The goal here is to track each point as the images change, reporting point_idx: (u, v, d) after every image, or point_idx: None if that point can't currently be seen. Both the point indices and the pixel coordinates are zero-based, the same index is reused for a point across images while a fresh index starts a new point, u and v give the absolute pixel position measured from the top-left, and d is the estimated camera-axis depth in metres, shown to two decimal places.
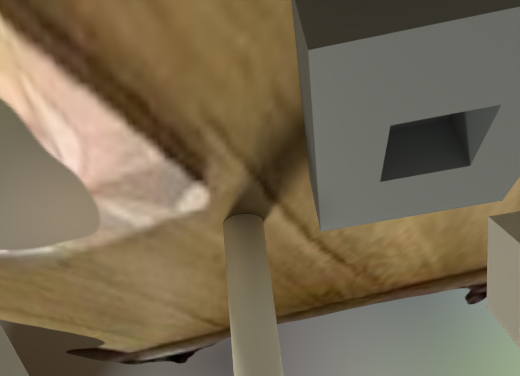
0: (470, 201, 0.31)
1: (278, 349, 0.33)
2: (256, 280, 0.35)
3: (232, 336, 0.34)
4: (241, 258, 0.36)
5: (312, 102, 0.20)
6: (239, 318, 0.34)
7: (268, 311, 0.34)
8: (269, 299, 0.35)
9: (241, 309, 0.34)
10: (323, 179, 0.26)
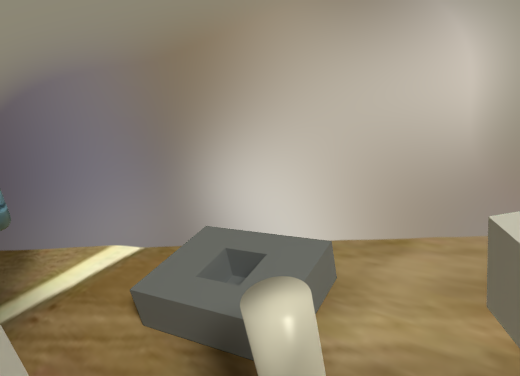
0: (316, 253, 0.44)
1: None
2: None
3: (259, 372, 0.23)
4: None
5: (150, 295, 0.42)
6: None
7: None
8: None
9: None
10: (205, 306, 0.39)
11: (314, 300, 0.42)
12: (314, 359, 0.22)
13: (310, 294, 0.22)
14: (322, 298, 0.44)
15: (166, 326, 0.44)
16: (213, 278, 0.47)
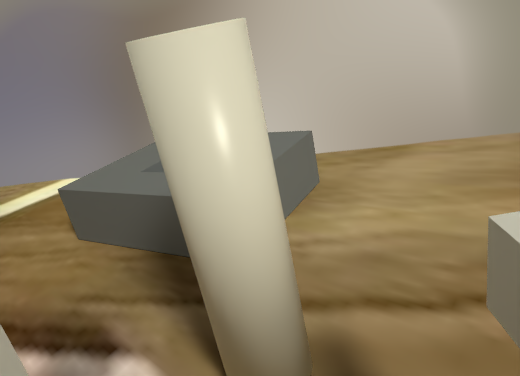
0: (291, 140, 0.35)
1: None
2: None
3: (164, 167, 0.14)
4: None
5: (80, 190, 0.33)
6: None
7: None
8: None
9: None
10: (144, 192, 0.30)
11: (288, 194, 0.33)
12: (251, 131, 0.13)
13: None
14: (300, 197, 0.35)
15: (103, 233, 0.34)
16: None
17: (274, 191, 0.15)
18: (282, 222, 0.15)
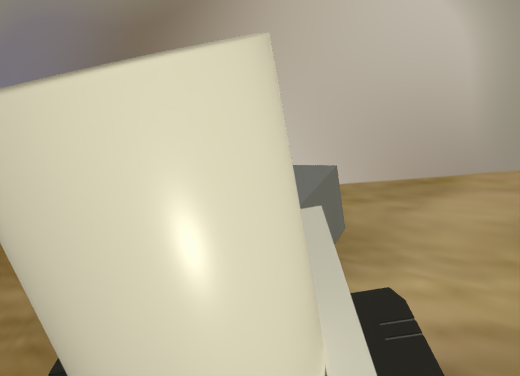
0: (311, 180, 0.27)
1: None
2: None
3: None
4: None
5: None
6: None
7: None
8: None
9: None
10: None
11: None
12: (284, 325, 0.05)
13: (264, 34, 0.05)
14: None
15: None
16: None
17: None
18: None
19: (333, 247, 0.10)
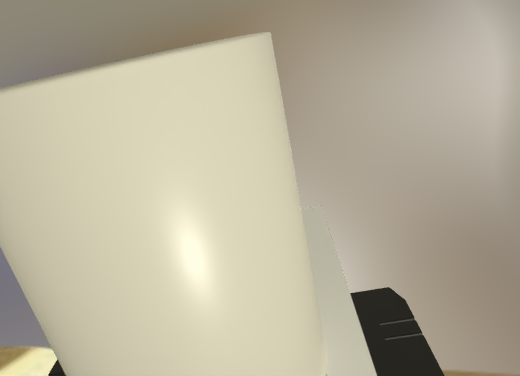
0: None
1: None
2: None
3: None
4: None
5: None
6: None
7: None
8: None
9: None
10: None
11: None
12: (285, 327, 0.05)
13: (265, 33, 0.05)
14: None
15: None
16: None
17: None
18: None
19: (333, 247, 0.10)
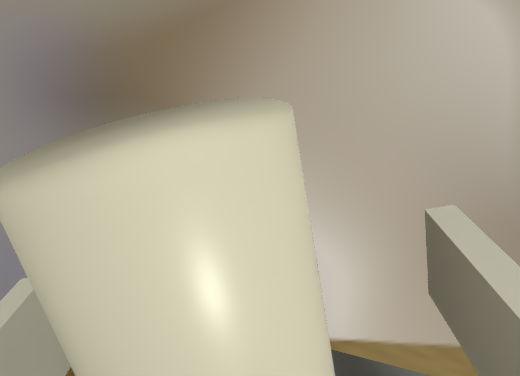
0: None
1: None
2: None
3: None
4: None
5: None
6: None
7: None
8: None
9: None
10: None
11: None
12: None
13: (288, 110, 0.05)
14: None
15: None
16: None
17: None
18: None
19: (503, 253, 0.08)
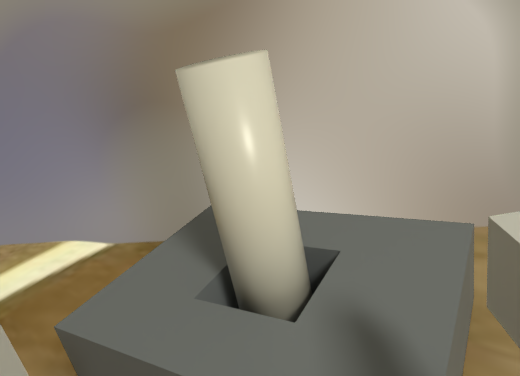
0: (452, 247, 0.20)
1: None
2: None
3: (203, 166, 0.18)
4: None
5: (93, 341, 0.19)
6: None
7: None
8: None
9: None
10: None
11: (461, 354, 0.19)
12: (272, 138, 0.17)
13: (265, 50, 0.17)
14: (465, 345, 0.20)
15: None
16: (230, 300, 0.23)
17: (288, 185, 0.19)
18: (295, 210, 0.19)
19: None
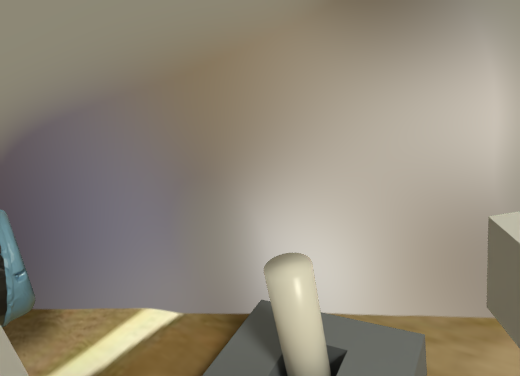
0: (410, 352, 0.36)
1: None
2: None
3: (276, 318, 0.34)
4: None
5: None
6: None
7: None
8: None
9: None
10: None
11: None
12: (314, 307, 0.33)
13: (311, 263, 0.33)
14: None
15: None
16: None
17: (321, 325, 0.34)
18: (323, 336, 0.35)
19: None
